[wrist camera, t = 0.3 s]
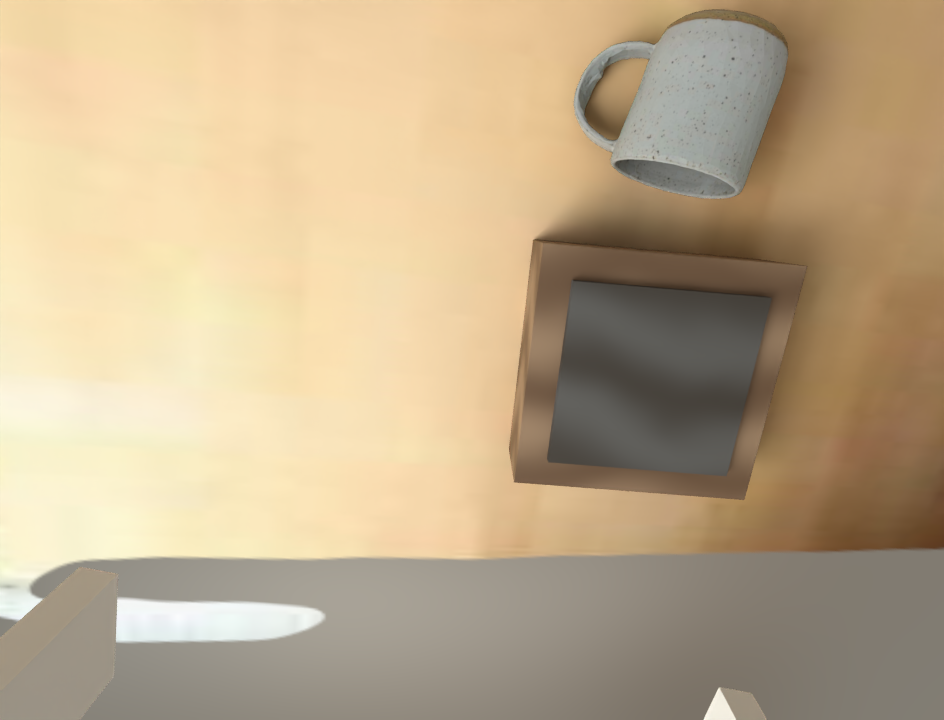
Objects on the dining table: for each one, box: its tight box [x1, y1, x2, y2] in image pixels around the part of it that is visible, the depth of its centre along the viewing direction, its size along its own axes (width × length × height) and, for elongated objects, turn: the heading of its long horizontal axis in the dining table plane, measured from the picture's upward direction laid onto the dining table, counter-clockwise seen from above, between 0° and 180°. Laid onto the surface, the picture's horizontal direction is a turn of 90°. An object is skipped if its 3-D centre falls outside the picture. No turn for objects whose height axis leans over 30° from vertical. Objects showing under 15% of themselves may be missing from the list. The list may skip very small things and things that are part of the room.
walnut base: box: [509, 240, 807, 500], centre depth 34 cm, size 16×16×6 cm
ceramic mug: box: [574, 10, 788, 199], centre depth 28 cm, size 11×8×8 cm
